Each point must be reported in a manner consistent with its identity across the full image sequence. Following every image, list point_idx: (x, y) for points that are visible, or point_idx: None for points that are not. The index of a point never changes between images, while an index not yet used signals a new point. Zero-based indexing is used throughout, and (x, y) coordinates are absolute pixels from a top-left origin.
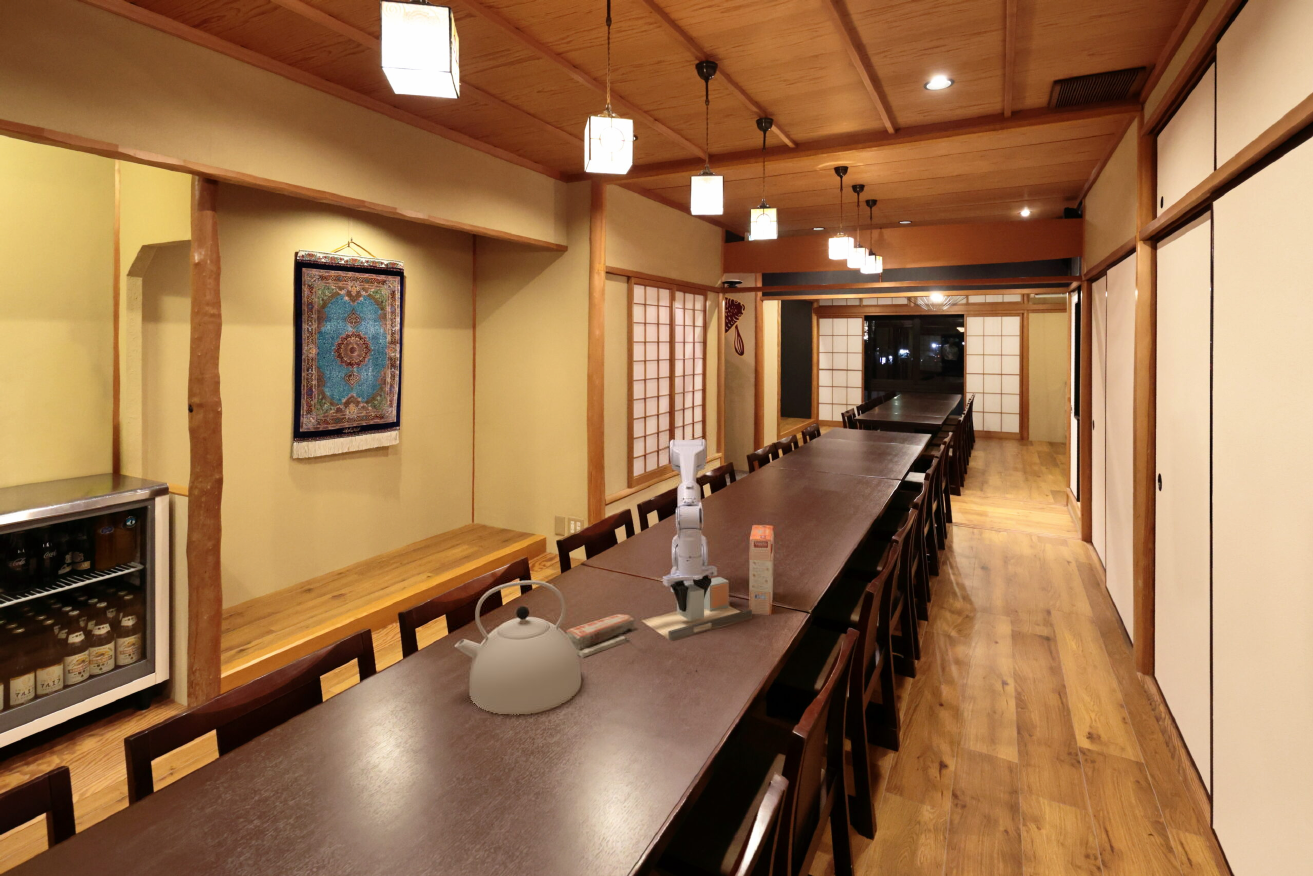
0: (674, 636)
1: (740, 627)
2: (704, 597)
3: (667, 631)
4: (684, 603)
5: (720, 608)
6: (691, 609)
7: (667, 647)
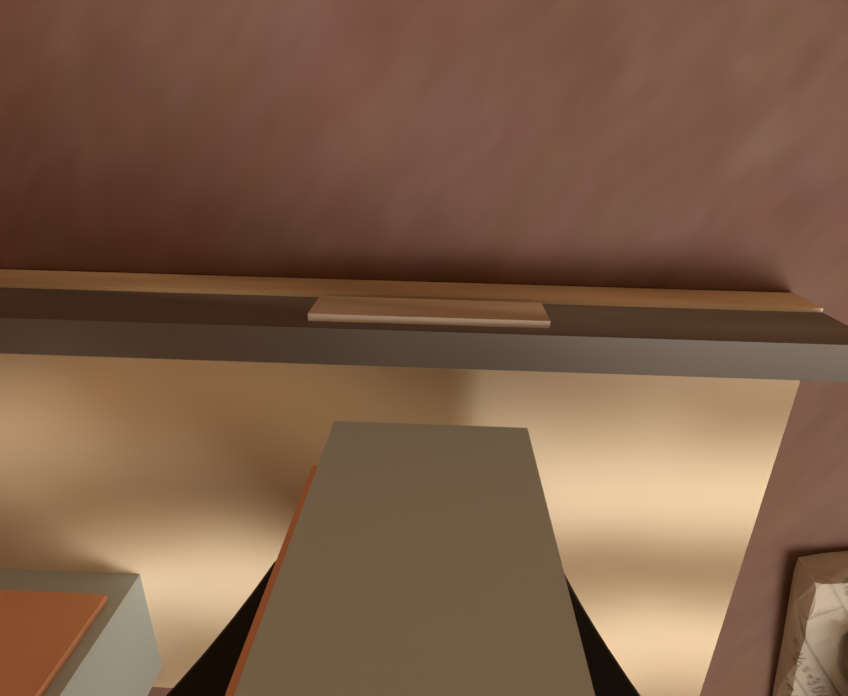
0: (789, 321)
1: (6, 242)
2: (204, 660)
3: (690, 476)
4: (600, 662)
5: (28, 573)
6: (530, 522)
7: (841, 279)
